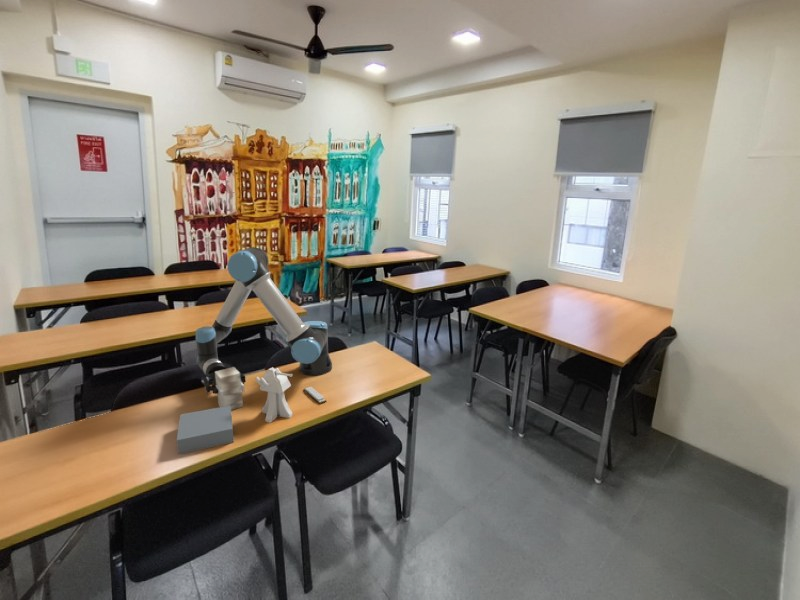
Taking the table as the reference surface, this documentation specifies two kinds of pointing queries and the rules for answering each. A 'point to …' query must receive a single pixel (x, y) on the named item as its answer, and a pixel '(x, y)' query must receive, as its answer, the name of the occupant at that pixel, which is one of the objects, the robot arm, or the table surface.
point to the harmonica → (315, 395)
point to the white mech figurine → (275, 394)
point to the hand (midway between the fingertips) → (233, 391)
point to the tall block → (229, 388)
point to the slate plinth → (205, 429)
